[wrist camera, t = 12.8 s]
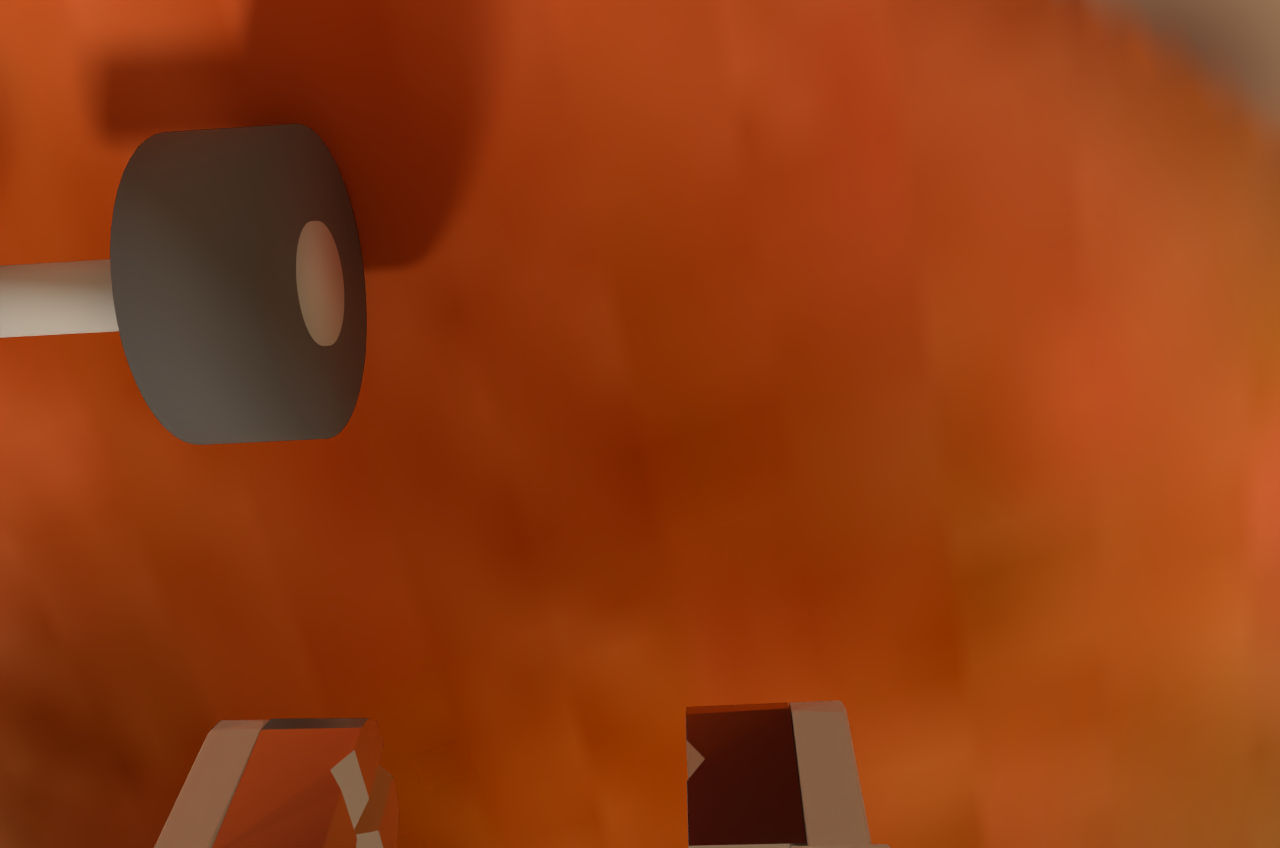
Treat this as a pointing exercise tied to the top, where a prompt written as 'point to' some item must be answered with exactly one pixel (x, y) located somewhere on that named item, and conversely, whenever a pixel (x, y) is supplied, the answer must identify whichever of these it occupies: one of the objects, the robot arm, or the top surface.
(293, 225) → the wheel
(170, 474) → the top surface
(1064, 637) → the top surface
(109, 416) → the top surface
